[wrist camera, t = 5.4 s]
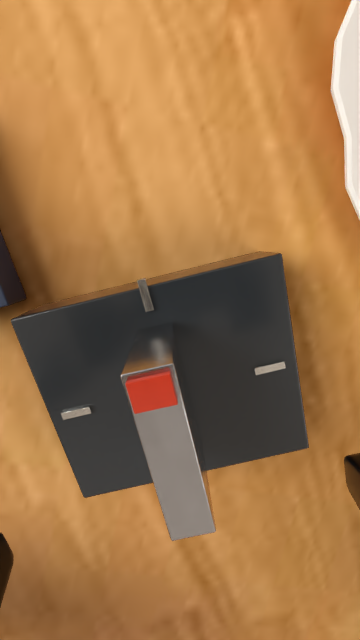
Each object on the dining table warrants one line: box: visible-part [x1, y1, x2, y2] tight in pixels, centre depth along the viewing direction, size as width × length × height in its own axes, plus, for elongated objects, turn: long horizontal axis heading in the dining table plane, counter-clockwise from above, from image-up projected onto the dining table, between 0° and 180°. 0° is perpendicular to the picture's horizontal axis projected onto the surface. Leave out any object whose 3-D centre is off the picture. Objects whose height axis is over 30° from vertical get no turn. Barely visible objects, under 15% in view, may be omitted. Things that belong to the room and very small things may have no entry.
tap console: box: [11, 252, 309, 498], centre depth 15 cm, size 12×11×3 cm
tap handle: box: [120, 322, 216, 541], centre depth 11 cm, size 6×2×5 cm, turn 13°
